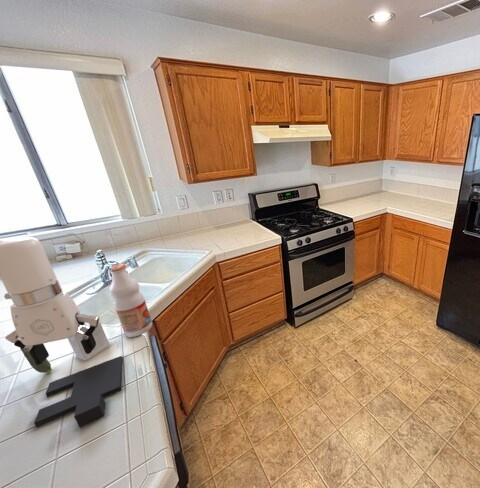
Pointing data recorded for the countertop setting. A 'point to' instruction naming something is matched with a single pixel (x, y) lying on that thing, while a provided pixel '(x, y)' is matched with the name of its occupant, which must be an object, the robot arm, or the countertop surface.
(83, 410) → the pad piece
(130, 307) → the fruit juice
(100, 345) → the small box
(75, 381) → the base pad
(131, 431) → the countertop surface
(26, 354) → the vegetable
